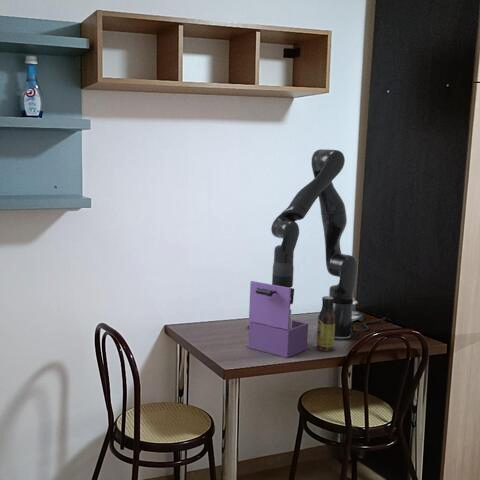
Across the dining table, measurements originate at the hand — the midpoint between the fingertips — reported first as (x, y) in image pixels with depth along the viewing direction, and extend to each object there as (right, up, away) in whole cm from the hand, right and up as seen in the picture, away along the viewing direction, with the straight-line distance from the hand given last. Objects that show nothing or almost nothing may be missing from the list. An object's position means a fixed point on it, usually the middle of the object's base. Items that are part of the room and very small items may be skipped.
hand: (280, 317), depth 239 cm
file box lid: (-5, +5, -7) cm, 10 cm away
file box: (-1, -11, +1) cm, 12 cm away
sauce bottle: (+17, -12, +1) cm, 21 cm away
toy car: (+36, -7, +43) cm, 56 cm away
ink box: (0, -11, +1) cm, 11 cm away
